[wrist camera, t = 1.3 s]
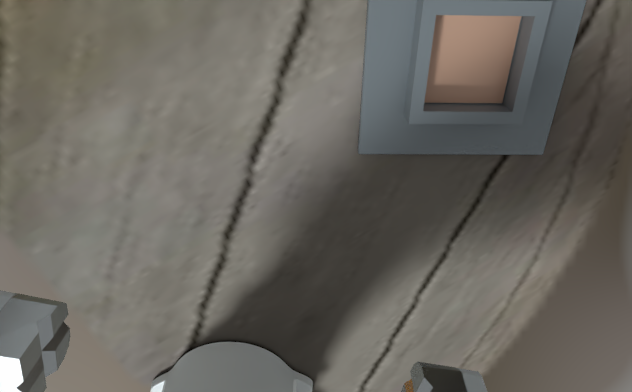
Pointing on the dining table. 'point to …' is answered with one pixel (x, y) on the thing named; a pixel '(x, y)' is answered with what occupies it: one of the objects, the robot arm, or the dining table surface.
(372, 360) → the dining table surface
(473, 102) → the housing
